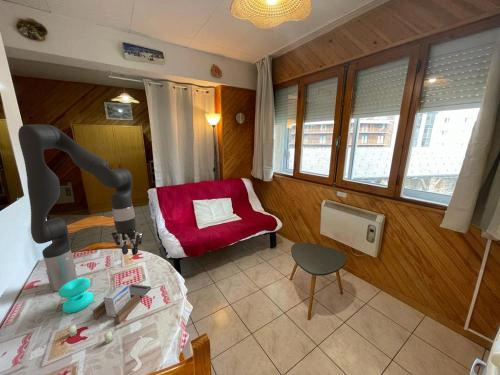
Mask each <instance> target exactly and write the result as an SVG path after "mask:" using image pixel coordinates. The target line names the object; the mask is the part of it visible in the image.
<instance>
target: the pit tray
mask: <svg viewBox="0 0 500 375" xmlns="http://www.w3.org/2000/svg"><path fill="white" fill-rule="evenodd" d="M151 289H152V287H151V286H149V285H143V284H136V283H135V284H134V283H131V284H130V285H129V290H130V296H131V298H132V297H133V296H134V295H135V294H136V293H140V299H143V298H144V297H145V296H146V295H147V293H148V292H150V290H151Z"/></svg>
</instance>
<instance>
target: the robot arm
mask: <svg viewBox="0 0 500 375" xmlns="http://www.w3.org/2000/svg"><path fill="white" fill-rule="evenodd" d="M17 134H18V135H17V136H18V142H19V146H20V150H21V154H22V156H23V157H22V158H23V161H24V166H25V172H26V179H27V180H26V182H27V193H28V198H29V200H28V201H29V205H30V234H31V238H32V240H33V241H34V242H35V243H36V244H39V245H40V244H45V243H50V242H52V243H50V244H49V245H48V246H46V247H45V248H43V250H42V253H41V254H42V257H43V260H44V263H45V267H46V275H47V279H48V282H49V285H50V286H49V287H50V288H51V290H52V291H53V292H59V290H60V288H61V287H62V286H63V285H65V284H66V283H68V282H70V281H72V280H74V279H78V274H77V270H76V266H75V263H74V258H73V252H72V250H71V240H70V237H69V236H70V235H69V228H68V225H67V222H66V221H65V219H63V218H62V217H55V218H52V219H47V217H48V215H49V212H50V210H52V208H53V206H55V204H56V203H57V201H58V199H59V198H60V196H61V188H60V187H61V184H60V179H59V177H58V175H56V173H55V172H54V171H53V170H51V168H50V167H49V166H48V165H47V163H46V161H45V160H46V159H45V155H44V150H52V149H57V150H59V151H62V152H64V153H66V154H68V155H69V157H70V158H71V160H72V162H73V163H74V164H75V165H76V166H77V167H79V169H81V170H83V171H85V172H87V173H88V174H90V175H92V176H93V177H95V179H96V180H98V181H99V183H101V184H102V185H104V186H105V187H107V188H110V189H115V191H114V193H112V194H111V196H110V201H111V202H110V203H111V207H112V217H113V223H114V229H115V231H113V232H111V236H112V239H113V240H114V243H115V244H116V246H119V247H120V248H121V252H122V254H123V255H124V256H125V255H127V254H128V253H129V248H128V244H129V245H130V247H131V248H130V249H131V255H132V256H134V257H135V256H136V255H137V254H138V253H139V249H138V247H139V246H141V245H142V242H143V238H144V237H143V236H144V233H143V232H138V231H137V229H136V227H137V221H136V215H135V208H134V206H133V205H134V204H133V199H132V190H133V182H134V181H133V180H134V179H133V176H132V173H131V172H130V171H129V170H128V169H127V168H116V169H111V168H110V164H109V163H108V161H106V160H105V159H103V158H101V157H100V156H98V155H95V154H94V153H92V152H91V151H89V150H87V149H86V148H84V147H83V146H81V144H79V143H77V142H76V141H75V140H73V139H72V138H71V137H70V136H68V135H67V134H66V133H65V132H63V131H62V130H60V129H59V128H58V127H56V126H54V125H51V124H24V125H21V126H20V127H19V129H18V133H17Z"/></svg>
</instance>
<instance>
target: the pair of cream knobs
mask: <svg viewBox="0 0 500 375" xmlns="http://www.w3.org/2000/svg"><path fill="white" fill-rule="evenodd" d="M67 331H68V335H69V337H71V338H72V337H75V336H76V335H77V334H78V330H77V326H76V324H72V325H69V326H68V328H67ZM103 336H104V342H105V344H106V345H109V344H111V343H112V342H113V341H114V338H113V334H112V331H110V330H109V331H107V332H105V333H104V334H103Z"/></svg>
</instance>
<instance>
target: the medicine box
mask: <svg viewBox="0 0 500 375" xmlns="http://www.w3.org/2000/svg"><path fill="white" fill-rule="evenodd" d="M129 286H130V285H129V284H123V283H120V284H118V285H117V286H115V288H113V289H112V290H111V291H110V292H108V293H107V294H106V295H105V296H104V297H103V301H104V303H105V307H106V312H105V313H106V316H107V317H113V318H114V317H115V318H116V313H117V312H118V311H119V310H120V309H121V308H122V307H123V306H124V305H125V304H126V303H127V302H128V301H129V300H130V299H131V298H132V297H131V296H130V290H129Z"/></svg>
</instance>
